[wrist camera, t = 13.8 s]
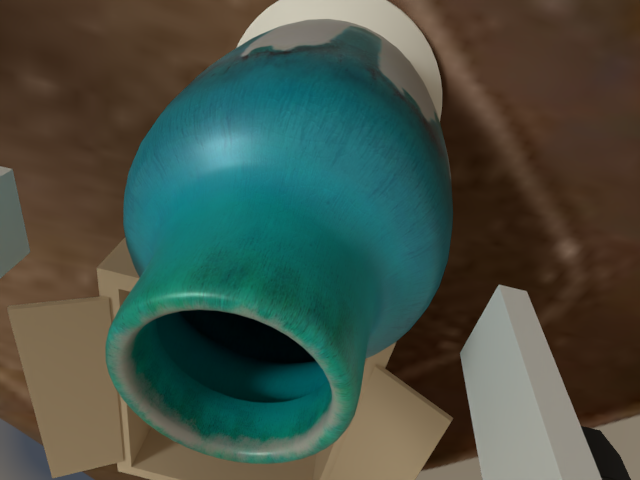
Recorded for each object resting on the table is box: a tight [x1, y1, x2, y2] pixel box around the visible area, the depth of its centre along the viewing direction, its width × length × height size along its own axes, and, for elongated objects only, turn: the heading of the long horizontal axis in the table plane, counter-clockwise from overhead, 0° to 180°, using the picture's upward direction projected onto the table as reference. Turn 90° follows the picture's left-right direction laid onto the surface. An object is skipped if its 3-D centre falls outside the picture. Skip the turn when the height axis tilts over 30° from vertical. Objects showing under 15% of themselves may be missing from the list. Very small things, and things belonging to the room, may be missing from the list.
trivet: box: [237, 0, 442, 121], centre depth 25 cm, size 12×12×1 cm
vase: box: [105, 19, 453, 464], centre depth 17 cm, size 11×11×19 cm
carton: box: [7, 238, 453, 480], centre depth 33 cm, size 25×22×10 cm
